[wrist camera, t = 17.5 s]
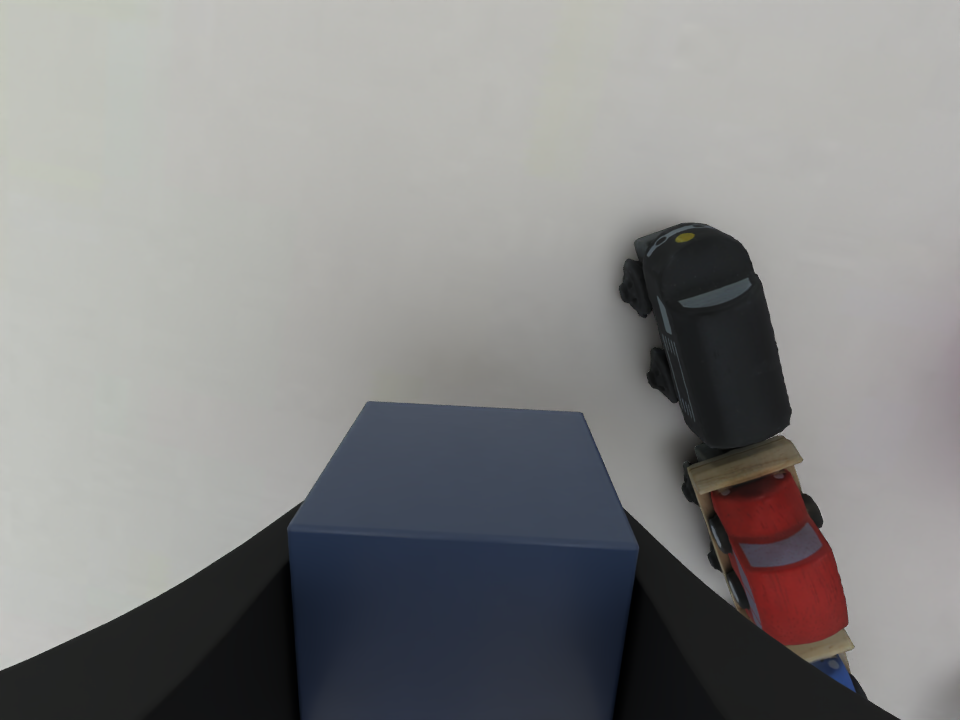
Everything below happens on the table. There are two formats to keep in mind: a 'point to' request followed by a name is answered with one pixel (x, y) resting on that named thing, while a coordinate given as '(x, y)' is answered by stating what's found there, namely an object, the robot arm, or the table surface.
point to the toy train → (740, 438)
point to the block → (461, 569)
